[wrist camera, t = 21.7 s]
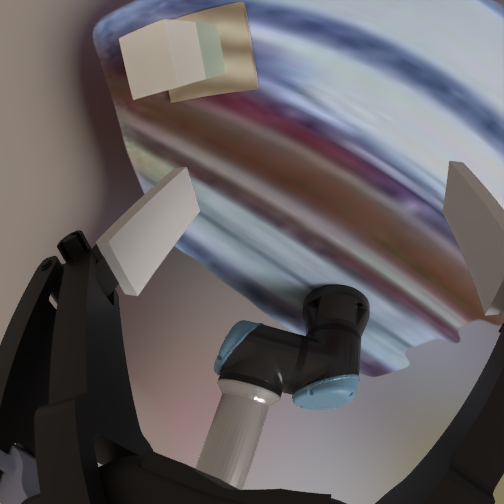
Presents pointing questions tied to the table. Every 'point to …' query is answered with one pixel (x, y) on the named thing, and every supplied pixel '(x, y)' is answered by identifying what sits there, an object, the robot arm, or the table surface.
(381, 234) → the table surface
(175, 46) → the cream brick
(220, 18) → the base plate
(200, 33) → the sage brick
